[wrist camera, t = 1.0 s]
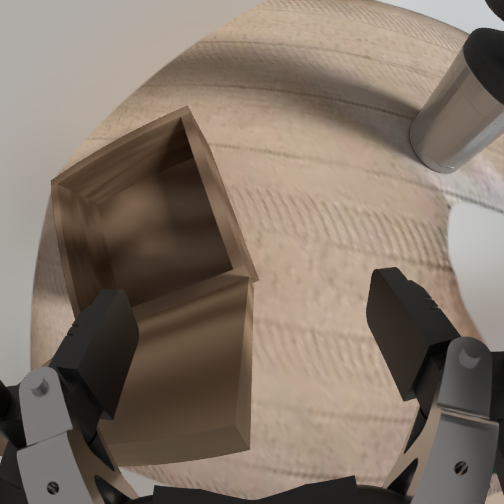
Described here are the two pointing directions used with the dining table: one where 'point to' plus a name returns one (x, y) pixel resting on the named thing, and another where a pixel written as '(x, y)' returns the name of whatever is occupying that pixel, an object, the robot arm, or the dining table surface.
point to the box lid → (186, 382)
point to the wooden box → (148, 219)
